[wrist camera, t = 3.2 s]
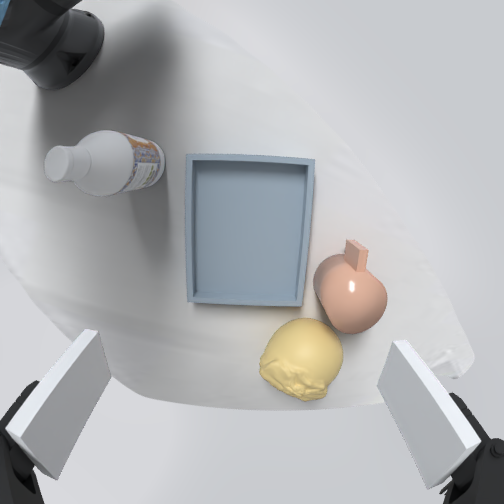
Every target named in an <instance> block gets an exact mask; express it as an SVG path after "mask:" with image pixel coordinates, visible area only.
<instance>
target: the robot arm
mask: <svg viewBox="0 0 504 504" xmlns="http://www.w3.org/2000/svg"><path fill="white" fill-rule="evenodd" d="M80 1H82V0H0V64H3V65H6V66H10V67H13V68H17V69H20V70H23V71H24V72H25V73H26V74H27V75H28V76H29V77H30V78H31V79H32V80H33V82H34V83H35V84H36V85H37V86H39V87H42V88H45V89H49V90H56V89H60V88H63V87H65V86H67V85H69V84H70V83H72V82H73V81H75V80H76V79H77V78H78V77H80V76H81V75H82V74H83V73H84V72H85V71H86V69H87V68H88V67H89V66H90V64H91V63H92V62H93V60H94V59H95V57H96V55H97V54H98V52H99V49H100V47H101V45H102V41H103V37H104V27H103V24H102V22H101V21H100V20H99V19H98V18H97V17H96V16H95V15H94V14H92V13H90V12H87V11H82V10H77V9H71V8H72V7H74V6H75V5H76V4H78V3H79V2H80ZM110 379H111V374H110V370H109V367H108V364H107V360H106V357H105V353H104V350H103V346H102V342H101V338H100V334H99V331H95V330H90V329H84V331H83V332H82V333H81V334H80V335H79V336H78V337H77V338H76V340H75V341H74V342H73V343H72V344H71V345H70V347H69V348H68V349H67V350H66V351H65V352H64V354H63V355H62V356H61V357H60V358H59V359H58V361H57V362H56V363H55V364H54V365H53V367H52V368H51V369H50V370H49V371H48V373H47V374H46V375H45V376H44V378H43V379H42V380H41V381H40V382H39V381H37V380H36V381H34V382H33V383H31V384H30V385H28V386H27V387H26V388H25V389H24V390H23V392H22V393H21V396H19V397H18V398H17V399H16V402H14V403H13V405H12V406H11V407H10V408H9V410H8V411H7V413H6V414H5V415H4V416H3V418H2V419H1V420H0V504H44V501H43V498H42V495H41V492H40V488H39V485H38V482H37V478H36V475H35V473H34V471H33V467H34V466H36V467H37V468H38V469H39V470H40V471H41V472H42V473H43V474H45V475H47V476H49V477H51V478H53V479H55V480H58V478H59V476H60V474H61V472H62V469H63V467H64V465H65V463H66V461H67V459H68V457H69V455H70V453H71V451H72V449H73V447H74V445H75V443H76V441H77V439H78V437H79V435H80V433H81V431H82V429H83V428H84V426H85V424H86V422H87V420H88V418H89V416H90V415H91V413H92V411H93V409H94V407H95V405H96V404H97V402H98V400H99V398H100V396H101V395H102V393H103V391H104V389H105V387H106V386H107V384H108V382H109V380H110ZM377 387H378V389H379V391H380V393H381V395H382V397H383V398H384V400H385V402H386V404H387V406H388V408H389V410H390V412H391V414H392V416H393V418H394V420H395V422H396V424H397V426H398V428H399V430H400V432H401V434H402V436H403V438H404V440H405V442H406V445H407V447H408V449H409V451H410V453H411V455H412V457H413V459H414V461H415V464H416V466H417V468H418V470H419V472H420V474H421V476H422V479H423V481H424V483H425V486H426V488H427V489H430V488H432V487H435V486H437V485H439V484H441V483H443V482H444V481H445V480H446V479H447V478H448V477H449V476H450V475H451V477H452V479H453V480H452V481H450V482H449V483H448V484H447V485H446V486H445V487H444V488H443V489H442V490H441V491H440V493H439V494H442V493H443V492H445V491H446V490H447V489H448V490H447V492H446V493H445V495H446V496H445V499H444V502H443V504H504V441H503V440H501V439H499V438H494V439H490V438H489V436H488V435H487V434H486V432H485V431H484V429H483V428H482V426H481V425H480V424H479V422H478V421H477V419H476V418H475V417H474V415H472V413H471V411H470V410H469V409H467V406H466V404H465V403H464V402H463V400H462V399H461V398H459V397H458V396H457V395H455V394H454V393H449V394H448V393H447V391H446V390H445V389H444V388H443V386H442V385H441V383H440V382H439V381H438V379H437V378H436V377H435V375H434V374H433V373H432V371H431V370H430V369H429V368H428V366H427V365H426V364H425V362H424V361H423V360H422V359H421V357H420V356H419V355H418V354H417V352H416V351H415V350H414V349H413V347H412V346H411V345H410V344H409V343H408V341H407V340H399V341H393V342H392V345H391V348H390V351H389V354H388V357H387V360H386V363H385V365H384V368H383V371H382V373H381V376H380V379H379V381H378V384H377Z"/></svg>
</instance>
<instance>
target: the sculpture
mask: <svg viewBox="0 0 504 504" xmlns="http://www.w3.org/2000/svg"><path fill="white" fill-rule="evenodd" d="M342 362H343V349H342V345H341V342H340V340H339V338H338V337H337V335H336V334H335V332H334V331H333V330H332V329H331V328H330V327H328V326H327V325H326V324H324V323H322V322H320V321H318V320H315V319H311V318H299V319H295V320H292V321H290V322H288V323H286V324H284V325H283V326H281V327H280V328H279V329H278V330H277V331H276V332H275V333H274V335H273V336H272V338H271V339H270V341H269V343H268V345H267V346H266V349H265V351H264V353H263V355H262V356H261V358H260V363H259V365H260V371H259V373H260V375H261V376H262V377H263V379H265V380H266V381H268V382H269V383H270V384H271V385H272V386H273V387H275V388H277V389H278V390H279V391H282V392H284V393H286V394H288V395H290V396H292V397H296V398H298V399H300V400H302V401H309V400H316V399H321V398H323V397H325V396H326V394H327V386H328V385H329V384H330V383H331V382H332V381H333V380H334V379H335V377H336V376H337V374H338V373H339V371H340V369H341V366H342Z"/></svg>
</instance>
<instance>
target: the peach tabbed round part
mask: <svg viewBox="0 0 504 504" xmlns="http://www.w3.org/2000/svg"><path fill="white" fill-rule="evenodd" d="M367 257H368V249H366V248H365V247H364V246H362V245H361V244H359V243H358V242H357V241H355V240H346V247H345V254H338V255H333V256H331V257H329V258H327V259H325V260H324V261H323V262H322V263H321V264H320V265H319V266H318V268H317V270H316V272H315V274H314V278H313V286H314V290H315V292H316V294H317V296H318V298H319V300H320V302H321V304H322V306H323V308H324V309H325V311H326V313H327V315H328V317H329V319H330V321H331V323H332V325H333V326H334V327H335V328H336V329H337V330H339V331H341V332H343V333H348V334H355V333H360V332H363V331H365V330H368V329H369V328H371V327H372V326H373V325H375V324H376V323H377V322H378V321H379V319H380V318H381V317H382V315H383V313H384V311H385V309H386V306H387V292H386V289H385V287H384V286H383V284H382V283H381V282H380V281H379V280H378V279H377V278H376V277H375V276H373V275H372V274H371V273H370V272H369V271H368V270H367V269H366V263H367Z"/></svg>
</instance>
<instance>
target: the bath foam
mask: <svg viewBox="0 0 504 504" xmlns="http://www.w3.org/2000/svg"><path fill="white" fill-rule="evenodd" d="M164 167H165V157H164V154H163V151H162V149H161V148H160V147H159V146H158V145H157V144H156V143H155V142H153V141H151V140H147V139H144V138H140V137H137V136H133V135H129V134H125V133H121V132H117V131H113V130H102V131H97V132H94V133H91V134H89V135H87V136H86V137H84V138H83V139H82V140H81V141H80V142H79V143H78V144H77V145H76V146H75V147H74V146H67V147H65V146H55V147H53V148H52V149H51V150H50V151H49V152H48V153H47V155H46V158H45V161H44V171H45V174H46V177H47V178H48V179H49V180H50V181H52V182H65V181H72V180H73V182H74V183H75V184H76V186H77V187H78V188H79V189H81V190H82V191H83V192H85V193H87V194H90V195H94V196H109V195H114V194H119V193H123V192H128V191H133V190H138V189H142V188H146V187H149V186H151V185H153V184H154V183H156V182H157V181H158V180H159V178H160V177H161V175H162V173H163V171H164Z"/></svg>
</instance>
